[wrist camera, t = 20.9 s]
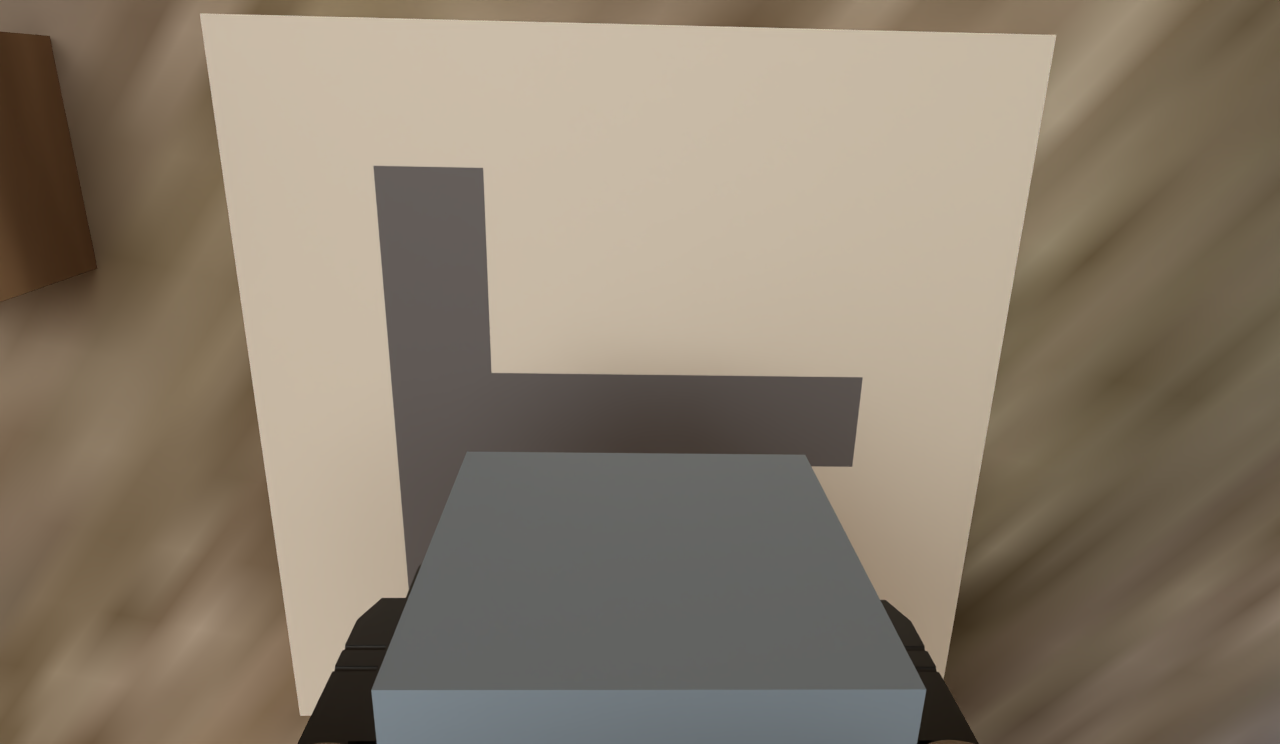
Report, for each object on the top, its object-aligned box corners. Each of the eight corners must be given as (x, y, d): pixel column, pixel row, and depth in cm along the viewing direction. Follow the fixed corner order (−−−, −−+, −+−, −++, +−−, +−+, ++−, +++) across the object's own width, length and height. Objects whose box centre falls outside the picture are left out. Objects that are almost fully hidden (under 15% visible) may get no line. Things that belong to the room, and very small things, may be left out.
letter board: (1046, 36, 18) (1056, 34, 17) (932, 705, 24) (937, 715, 23) (208, 15, 17) (199, 13, 17) (305, 705, 23) (300, 715, 23)
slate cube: (805, 454, 12) (926, 689, 7) (778, 723, 14) (863, 1054, 9) (467, 451, 12) (370, 689, 7) (480, 724, 14) (410, 1063, 9)
